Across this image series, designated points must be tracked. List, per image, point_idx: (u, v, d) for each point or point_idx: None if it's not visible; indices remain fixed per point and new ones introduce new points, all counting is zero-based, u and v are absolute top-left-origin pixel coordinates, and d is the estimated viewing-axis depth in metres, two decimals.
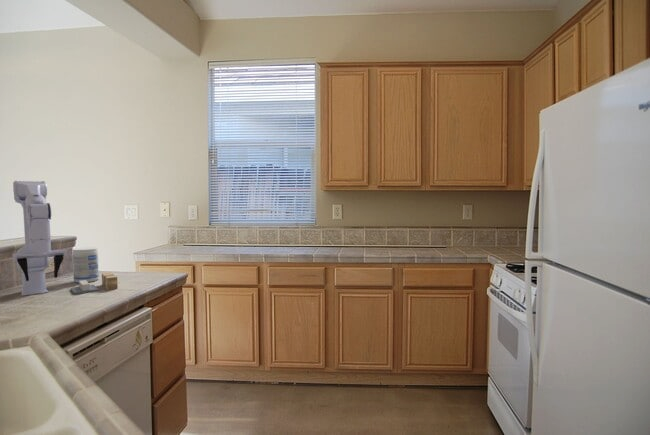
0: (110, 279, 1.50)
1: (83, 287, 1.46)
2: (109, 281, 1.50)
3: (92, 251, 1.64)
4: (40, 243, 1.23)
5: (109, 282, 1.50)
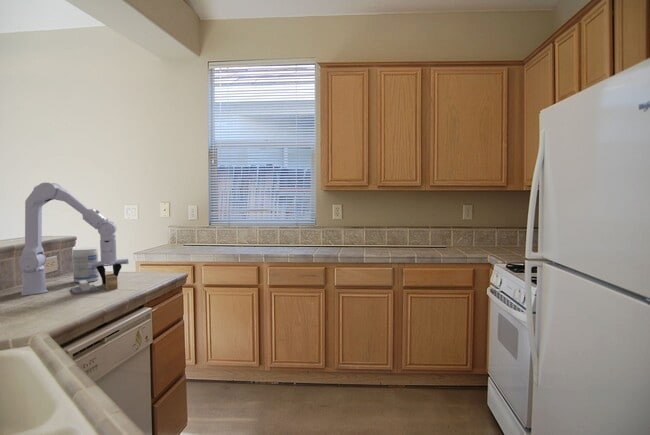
0: (110, 279, 1.50)
1: (83, 287, 1.46)
2: (109, 281, 1.50)
3: (92, 251, 1.64)
4: (109, 254, 1.53)
5: (109, 282, 1.50)
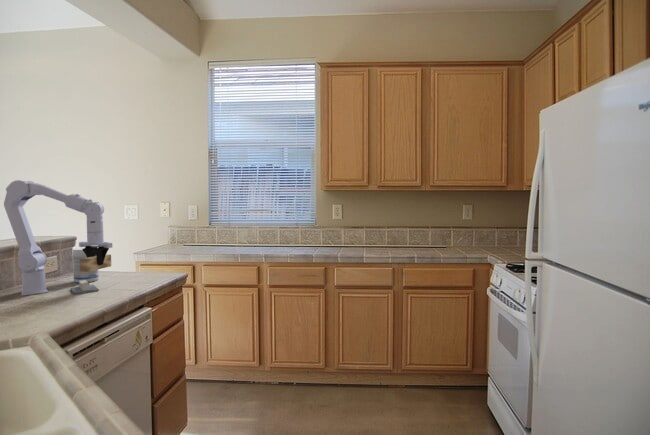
0: (81, 260, 1.46)
1: (83, 287, 1.46)
2: (81, 262, 1.46)
3: None
4: (89, 235, 1.49)
5: (81, 263, 1.46)
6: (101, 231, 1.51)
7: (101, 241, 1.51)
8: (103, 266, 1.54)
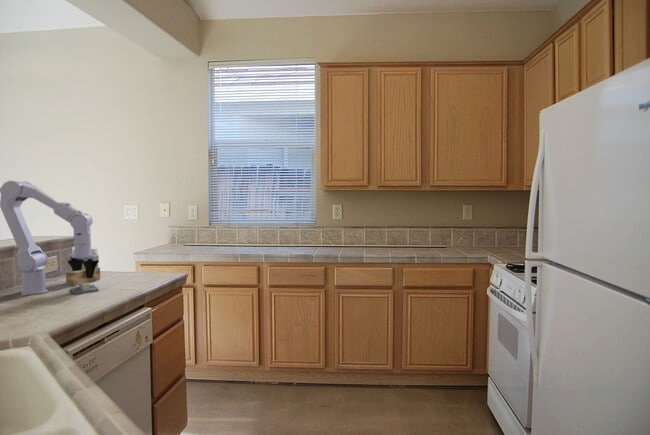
0: (67, 274, 1.44)
1: (83, 287, 1.46)
2: (67, 276, 1.44)
3: (92, 251, 1.64)
4: (75, 248, 1.46)
5: (67, 277, 1.44)
6: (88, 243, 1.48)
7: (88, 253, 1.48)
8: (91, 280, 1.51)
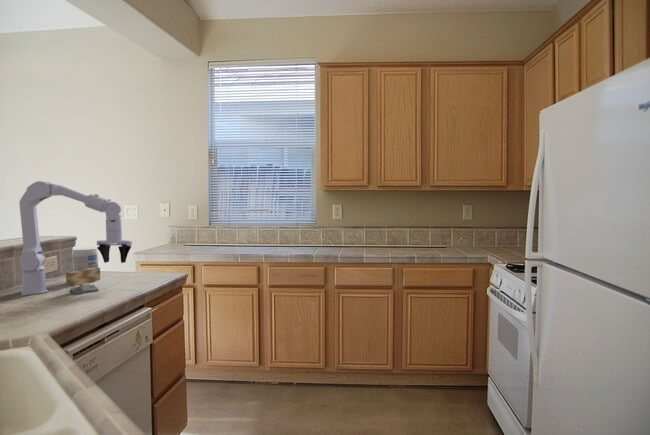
0: (67, 274, 1.44)
1: (83, 287, 1.46)
2: (67, 276, 1.44)
3: (92, 251, 1.64)
4: (109, 234, 1.54)
5: (67, 277, 1.44)
6: (120, 230, 1.57)
7: (120, 239, 1.57)
8: (91, 280, 1.51)
